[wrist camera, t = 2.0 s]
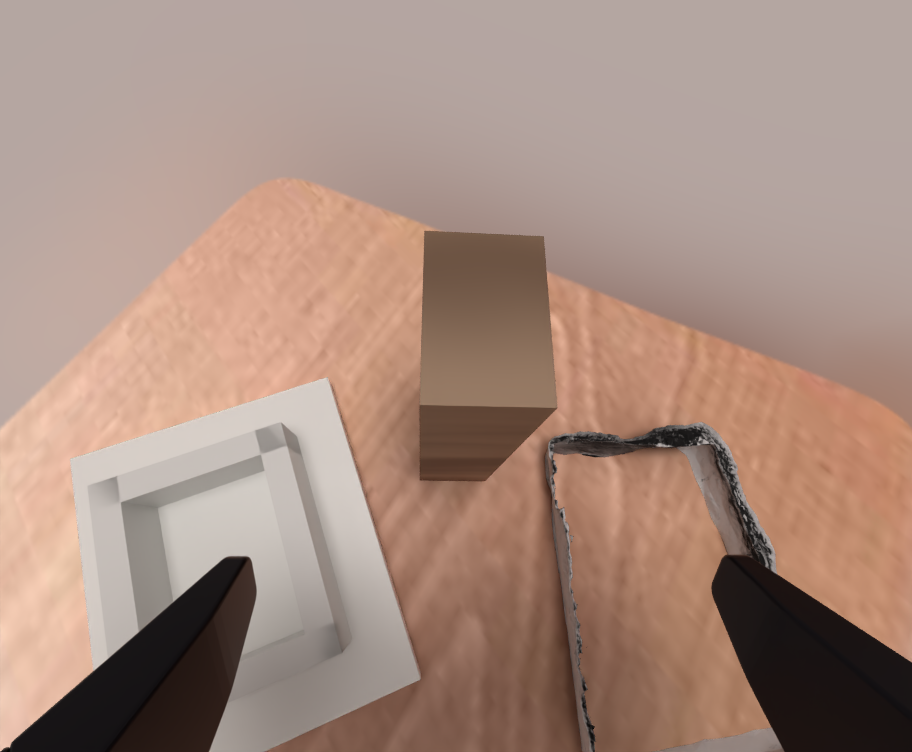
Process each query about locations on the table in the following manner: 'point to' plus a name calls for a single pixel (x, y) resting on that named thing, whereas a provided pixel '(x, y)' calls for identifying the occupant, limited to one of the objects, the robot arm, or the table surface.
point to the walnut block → (482, 351)
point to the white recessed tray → (266, 543)
